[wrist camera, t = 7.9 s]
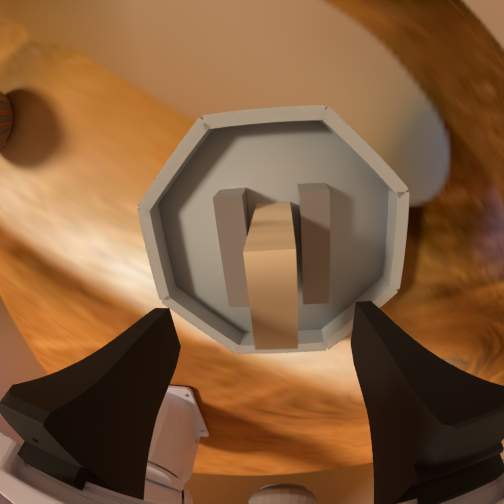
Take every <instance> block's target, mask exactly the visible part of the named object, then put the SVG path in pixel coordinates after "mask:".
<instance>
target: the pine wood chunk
mask: <svg viewBox="0 0 504 504" xmlns="http://www.w3.org/2000/svg"><path fill="white" fill-rule="evenodd" d="M243 256H244V264H245V272H246V281H247V289H248V297H249V305H250V313H251V321H252V329H253V337H254V345H255V350H272V349H298V295H297V263H296V245H295V237H294V228H293V220H292V213H291V205H290V202H273V203H258V204H256V207H255V211H254V214H253V218H252V221H251V225H250V229H249V232H248V236H247V239H246V243H245V246H244V250H243Z"/></svg>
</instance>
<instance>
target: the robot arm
mask: <svg viewBox="0 0 504 504" xmlns="http://www.w3.org/2000/svg"><path fill="white" fill-rule="evenodd" d="M180 348H181V346H180V343H179V340H178V336H177V333H176V330H175V326H174V323H173V320H172V316H171V313H170V309H169V308H155V309H153V310H152V311H150V312H149V313H148V314H146V315H145V316H144V317H142V318H141V319H140V320H139V321H137V322H136V323H135V324H133V325H132V326H131V327H130V328H128V329H127V330H126V331H124V332H123V333H122V334H120V335H119V336H118V337H116V338H115V339H114V340H112V341H111V342H109V343H108V344H106V345H105V346H104V347H102V348H101V349H99V350H98V351H96V352H95V353H93V354H91V355H90V356H88V357H86V358H84V359H83V360H81V361H79V362H77V363H75V364H73V365H71V366H69V367H66V368H64V369H62V370H60V371H58V372H55V373H53V374H50V375H47V376H44V377H41V378H38V379H35V380H31V381H27V382H23V383H19V384H15V385H12V387H11V388H10V389H9V391H8V392H7V393H6V394H5V396H4V397H3V398H2V400H1V401H0V413H1V415H2V416H3V417H4V419H5V420H6V421H7V422H8V423H9V425H10V426H11V427H12V428H13V429H14V430H15V431H16V432H17V433H18V434H19V435H20V436H21V438H22V439H23V440H24V441H25V442H24V444H23V445H20V444H19V443H18V442H16V441H15V440H13V439H11V438H10V437H8V436H7V435H5V434H3V433H0V493H1V494H2V495H3V496H5V497H6V498H7V499H9V500H10V501H11V502H12V503H14V504H193V500H192V497H191V496H190V493H189V491H188V490H186V489H183V486H184V483H185V482H186V481H187V480H188V479H189V478H190V476H191V474H192V470H193V466H194V462H195V458H196V454H197V449H198V445H199V441H200V437H208V436H209V432H208V429H207V427H206V425H205V422H204V420H203V417H202V415H201V412H200V410H199V407H198V405H197V402H196V399H195V397H194V394H193V391H192V390H191V389H190V388H189V387H182V386H170V385H169V384H170V382H171V379H172V376H173V374H174V371H175V369H176V365H177V361H178V357H179V352H180ZM351 348H352V355H353V361H354V366H355V370H356V373H357V377H358V380H359V384H360V387H361V391H362V394H363V398H364V402H365V405H366V409H367V413H368V418H369V425H370V433H371V441H372V452H373V466H374V504H504V459H503V460H502V458H501V455H500V453H501V452H503V449H504V448H503V446H502V443H501V441H502V440H503V439H504V386H501V385H498V384H495V383H492V382H488V381H486V380H483V379H481V378H478V377H476V376H473V375H471V374H469V373H467V372H465V371H462V370H460V369H459V368H457V367H455V366H453V365H451V364H449V363H447V362H446V361H444V360H442V359H441V358H439V357H438V356H436V355H435V354H433V353H432V352H430V351H429V350H427V349H426V348H424V347H423V346H422V345H420V344H419V343H418V342H417V341H415V340H414V339H413V338H412V337H410V336H409V335H408V334H407V333H405V332H404V331H403V330H402V329H401V328H400V327H399V326H398V325H396V324H395V323H394V322H393V321H392V320H391V319H390V318H389V317H388V316H387V315H386V314H385V313H384V312H382V311H381V310H380V309H379V308H378V307H377V306H376V305H375V304H374V303H373V302H372V301H360V302H355V312H354V320H353V329H352V337H351Z"/></svg>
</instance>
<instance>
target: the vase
mask: <svg viewBox="0 0 504 504" xmlns="http://www.w3.org/2000/svg"><path fill="white" fill-rule="evenodd" d="M12 123H13V112H12V107H11V104H10V102H9V100H8V98H7V97H6V96H5V94H4V93H2V92H1V91H0V150H1V148H2V147H3V145H4V144H5V142H6V140H7V138H8V136H9V134H10V131H11V128H12Z"/></svg>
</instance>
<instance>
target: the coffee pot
mask: <svg viewBox="0 0 504 504" xmlns="http://www.w3.org/2000/svg"><path fill="white" fill-rule="evenodd" d="M316 503H317V500H316V498H315V496H314V494H313V493H311V492H310V491H308V490H306V488H305V487H303V486H300V485H296V484H272V485H267V486H265V487H262V488H261V490H259V491H257V492H255V493H254V494H253V495H252V496H251V498H250V499H249V504H316Z"/></svg>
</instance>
